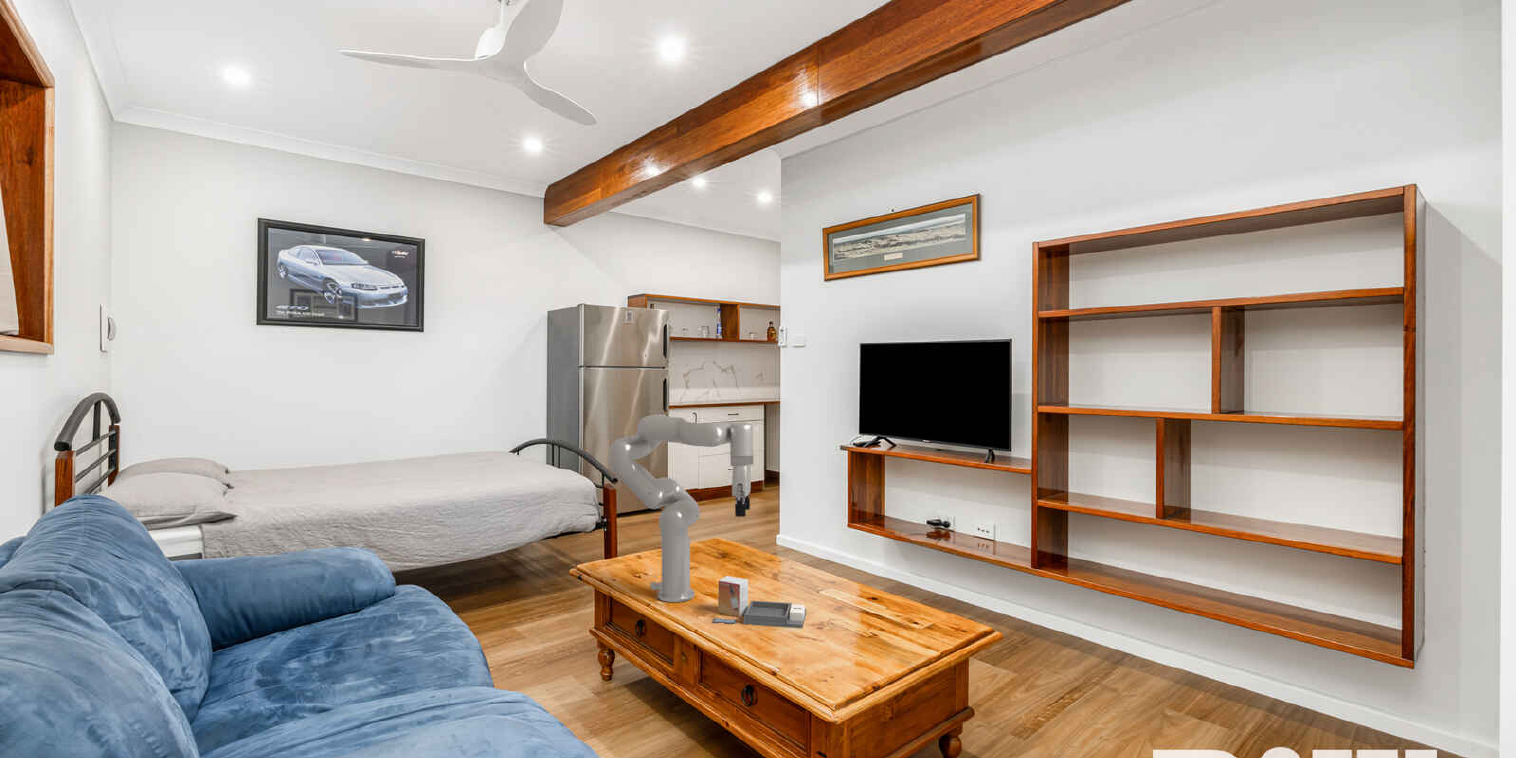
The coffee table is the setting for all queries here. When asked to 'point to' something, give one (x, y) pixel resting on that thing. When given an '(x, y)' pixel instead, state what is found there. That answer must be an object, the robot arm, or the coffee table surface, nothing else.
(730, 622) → the phone
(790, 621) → the grey tray
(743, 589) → the small box
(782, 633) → the coffee table surface
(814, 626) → the coffee table surface
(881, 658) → the coffee table surface
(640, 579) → the coffee table surface
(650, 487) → the robot arm
